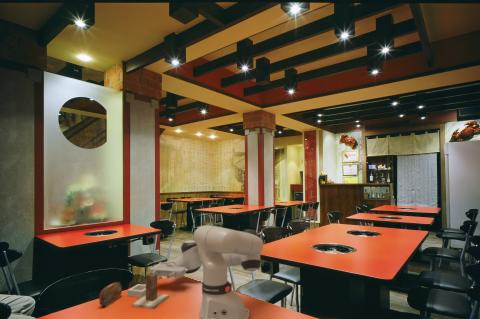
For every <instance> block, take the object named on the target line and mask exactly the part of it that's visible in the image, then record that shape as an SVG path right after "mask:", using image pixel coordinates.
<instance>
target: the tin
mask: <svg viewBox="0 0 480 319" xmlns="http://www.w3.org/2000/svg"><path fill="white" fill-rule="evenodd" d="M122 292H123V286H122V283H121V282H120V281H116V282H113V283H110V284H109V285H107V286H105V287H104V288H102V289H101V291H100V292H99V295H98V296H99V297H98V300H99V301H98V302H99V305H100V306H102V307H103V306H104V307H108V306H110V305H112V304H113V303H114V302H116V301H117V300H119V299H120V298H121V295H122Z"/></svg>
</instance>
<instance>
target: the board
mask: <svg viewBox="0 0 480 319" xmlns="http://www.w3.org/2000/svg"><path fill="white" fill-rule="evenodd" d="M169 298H170V294H164V293H157V299H155V300H154V301H147V300H146V295H145V296H143V297H139V299H137V300H135V302H133V303H131V304H132V305H131V306H132V307H135V308H143V309H149V310H150V309H151V310H155V309H157V308H158V307H159V306H160V305H162V303H164V302H166V300H168V299H169Z"/></svg>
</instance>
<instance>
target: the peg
mask: <svg viewBox="0 0 480 319" xmlns="http://www.w3.org/2000/svg"><path fill="white" fill-rule="evenodd" d="M158 277H159V276H158V274H155V273H150V272H149V274H146V275H145V285H146V300H147V301H154V300H155V299H157V294H158Z"/></svg>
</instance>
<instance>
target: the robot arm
mask: <svg viewBox="0 0 480 319" xmlns="http://www.w3.org/2000/svg"><path fill="white" fill-rule="evenodd" d="M196 228H197V229H195V231H194V234H193V240H191V239H189V240H186V241H184V242H183V243H182V244H181V247H180V250H181V253H182V255H179V256H176V257H175V258H173V259H170V260H166V261H159V262H158V263H157V264H155V265H153V266H151V267H150V269H149V274H150V273H155V274H158V277H166V278H167V279H171V278H183V277H184V276H185V275H187V274H194V273H196V272H197V271H199V270H200V268H201V267H202V279H203V280H202V284H201V293H202V299H201V300H202V301H201V306H200V311H199V317H200V318H201V319H249V318H250V310H249V308H247V307H245V302H244V299H243V298H242V297H241V296H240V295H238V294H237V293H236V292H235V291H233V290H232V288H233V287H232V286H233V282H230V281H228V267H235V266H236V267H237V266H240V265H241V267H242V269H243V270H244V271H248V272H255V271H257V270H259V269H260V268H261V264H262V261H261V252H262V251H263V248H264V242H263V240H262V238H261V237H259V235H258V233H257V231H256V230H254V229H244V230H243V231H240V230H235V229H231V228H226V227H221V226H215V225H211V224H210V225H207V224H206V225H201V226H198V227H196ZM201 261H202V262H201Z"/></svg>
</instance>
